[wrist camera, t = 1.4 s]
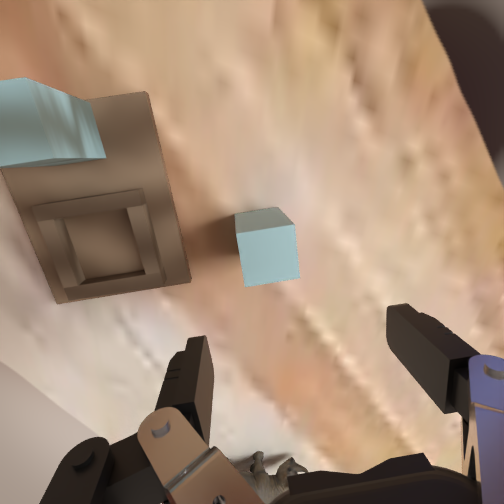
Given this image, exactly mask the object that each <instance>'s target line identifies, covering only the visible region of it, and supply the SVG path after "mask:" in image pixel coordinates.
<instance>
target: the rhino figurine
mask: <svg viewBox="0 0 504 504" xmlns="http://www.w3.org/2000/svg"><path fill="white" fill-rule="evenodd" d="M226 458H227V457H226ZM253 458H254V460H255V463H254V464H253V465H252V466H251V468H250V471H251V472H252V473H250V472H239V473H240V475H241V476H242V477H243V478H244V479H245V481H246V482H247V483H248V484H249V485H250V486H251V488H252V489H253V490H254V491H255V492H256V494H257V495H258V496H259V497H260V498H261V499H262V501H263V502H264V503H265V504H269V503H270V502H271V501H272V500H273V499H274V498H275V497H277V496H278V495H280V494H281V493H283V492H284V491H286V490H288V489H289V488H288V481H287V476H292V475H298V474H297V472H305V473H309V472H308V470H307V469H306V468H304V467H303V466H301V465H299V464H297V463H296V462H295V460H294V459H293V458H292V457H291V458H289V459H288V460H287V461H285V462H284V463H283V464H282V465H280V466H279V468H278V470H277V473H276V475H268V473H266V472H265V469H264V467H263V466H262V463H261V460H262V459H263V452H260V451H258V452H256V453H255V454H254V456H253ZM227 459H228V458H227ZM228 460H229V459H228Z"/></svg>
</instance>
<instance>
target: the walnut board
mask: <svg viewBox="0 0 504 504" xmlns="http://www.w3.org/2000/svg"><path fill="white" fill-rule="evenodd" d="M0 168H1V171H2V173H3V176H4V178H5V180H6V183H7V185H8V188H9V190H10V192H11V195H12V197H13V200H14V202H15V204H16V207H17V209H18V212H19V214H20V216H21V219H22V221H23V224H24V226H25V228H26V231H27V233H28V236H29V238H30V240H31V243H32V245H33V248H34V250H35V252H36V255H37V257H38V260H39V262H40V264H41V267H42V269H43V272H44V274H45V276H46V279H47V281H48V284H49V286H50V288H51V291H52V293H53V296H54V298H55V300H56V303H57V304H62V303H68V302H74V301H80V300H86V299H92V298H99V297H105V296H111V295H117V294H123V293H129V292H135V291H141V290H148V289H154V288H160V287H166V286H172V285H178V284H184V283H190V282H191V279H192V278H191V274H190V269H189V265H188V261H187V257H186V252H185V248H184V244H183V240H182V235H181V231H180V227H179V223H178V218H177V214H176V210H175V206H174V201H173V197H172V193H171V188H170V184H169V180H168V176H167V171H166V167H165V163H164V159H163V154H162V150H161V146H160V142H159V137H158V133H157V129H156V125H155V120H154V116H153V112H152V108H151V103H150V99H149V95H148V93H147V92H145V91H143V92H136V93H130V94H123V95H116V96H109V97H103V98H96V99H89V100H82V99H79V98H77V97H74V96H72V95H69V94H66V93H64V92H61V91H59V90H56V89H54V88H51V87H49V86H46V85H44V84H41V83H39V82H36V81H33V80H31V79H28V78H26V77H24V78H17V79H10V80H3V81H0Z"/></svg>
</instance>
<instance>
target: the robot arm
mask: <svg viewBox="0 0 504 504" xmlns="http://www.w3.org/2000/svg"><path fill="white" fill-rule="evenodd" d="M386 338H387V342H388V345H389V347H390V349H391V351H392V352H393V353H394V354H395V356H396V357H397V358H398V359H399V360H400V362H401V363H402V364H403V365H404V366H405V368H406V369H407V370H408V371H409V372H410V374H411V375H412V376H413V377H414V378H415V380H416V381H417V382H418V383H419V384H420V386H421V387H422V388H423V389H424V390H425V392H426V393H427V394H428V395H429V396H430V398H431V399H432V400H433V401H434V402H435V404H436V405H437V406H438V407H439V408H440V410H441V411H442V412H443V413H444V414H448V413H454V412H458V413H459V414H460V415H461V416H462V418H461V451H462V474H461V473H458V472H456V471H453V470H450V469H447V468H443V467H438V466H432V465H431V464H430V462H429V461H428V459H427V458H426V456H425V455H424V453H419V454H413V455H407V456H401V457H396V458H390V459H388V460H386V461H384V462H382V463H380V464H379V465H377V466H375V467H373V468H371V469H369V470H367V471H365V472H363V473H361V474H349V473H340V472H330V471H315V472H309V473H304V474H298V475H292V476H287V481H288V488H289V489H288V490H286V491H284V492H283V493H281V494H280V495H278V496H277V497H275V498H274V499H273V500H272V501H271V502H270V503H269V504H504V359H503V358H500V357H496V356H492V355H481V354H480V353H479V352H477V351H476V350H475V349H474V348H472V347H471V346H470V345H469V344H467V343H466V342H465V341H463V340H462V339H461V338H460V337H458V336H457V335H456V334H453V332H452V331H451V330H449V329H448V328H447V327H445V326H444V325H443V324H442V323H440V322H439V321H438V320H437V319H435V318H433V317H431V316H429V315H427V314H424V313H419V312H417V311H416V310H415V309H414V308H412V307H411V306H410V305H409V304H407V303H404V304H398V305H392V306H388V307H387V318H386ZM213 387H214V369H213V363H212V358H211V354H210V350H209V345H208V341H207V337H206V336H205V335H204V336H198V337H192V338H188V340H187V344H186V349H185V351H180V352H177V353H176V354H175V355H174V356H173V358H172V359H171V360H170V362H169V365H168V368H167V373H166V375H165V378H164V381H163V385H162V388H161V391H160V394H159V398H158V401H157V404H156V408H155V411H154V412H152V413H151V414H150V415H148V416H147V417H146V418H145V419H144V421H143V422H142V423H141V425H140V427H139V429H138V432H137V433H135V434H133V435H131V436H130V437H127V438H125V439H123V440H121V441H118V442H116V443H114V444H112V445H109V443H108V441H107V440H106V439H105V438H102V437H94V438H90V439H88V440H85V441H83V442H81V443H80V444H78V445H77V446H75V447H74V448H73V449H72V450H70V451H69V452H68V453H67V455H66V456H65V457H64V458H63V459H62V461H61V463H60V464H59V466H58V468H57V470H56V472H55V474H54V476H53V478H52V480H51V482H50V484H49V486H48V488H47V490H46V492H45V494H44V495H43V497H42V499H41V501H40V503H39V504H160V503H162V504H265V503H264V502H263V501H262V499H261V498H260V497H259V496H258V495H257V494H256V492H255V491H254V490H253V489H252V488H251V486H250V485H249V484H248V483H247V482H246V481H245V479H244V478H243V477H242V476H241V475H240V473H239V472H238V471H237V470H236V469H235V467H234V466H233V465H232V464H231V463H230V462H229V460H228V459H227V458H226V457H225V456H224V454H223V453H222V452H221V451H220V450H219V449H218V448H217V447H215V446H213V447H212V448H211V449H210V448H209V438H210V425H211V412H212V399H213Z"/></svg>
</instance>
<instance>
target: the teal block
mask: <svg viewBox="0 0 504 504" xmlns="http://www.w3.org/2000/svg"><path fill="white" fill-rule="evenodd" d="M235 227H236V237H237V243H238V249H239V254H240V260H241V266H242V272H243V278H244V284H245V287H249V286H255V285H261V284H268V283H274V282H280V281H286V280H292V279H298V278H300V273H299V263H298V253H297V243H296V233H295V224H294V223H293V222H292V221H291V220H290V219H289V218H288V217H287V216H286V215H285V214H284V213H283V212H282V211H281V210H280V209H279V208H278V207H275V208H269V209H262V210H256V211H250V212H243V213H237V214H235Z"/></svg>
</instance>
